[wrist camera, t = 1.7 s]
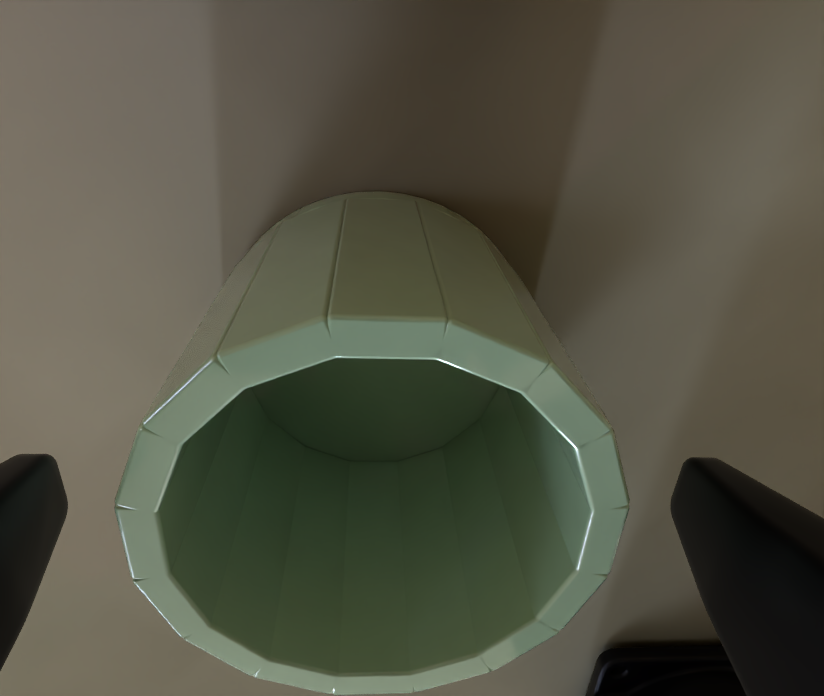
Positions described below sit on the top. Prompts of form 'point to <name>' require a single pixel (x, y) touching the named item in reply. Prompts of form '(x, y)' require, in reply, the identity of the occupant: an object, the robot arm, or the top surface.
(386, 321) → the ramekin
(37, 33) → the top surface
